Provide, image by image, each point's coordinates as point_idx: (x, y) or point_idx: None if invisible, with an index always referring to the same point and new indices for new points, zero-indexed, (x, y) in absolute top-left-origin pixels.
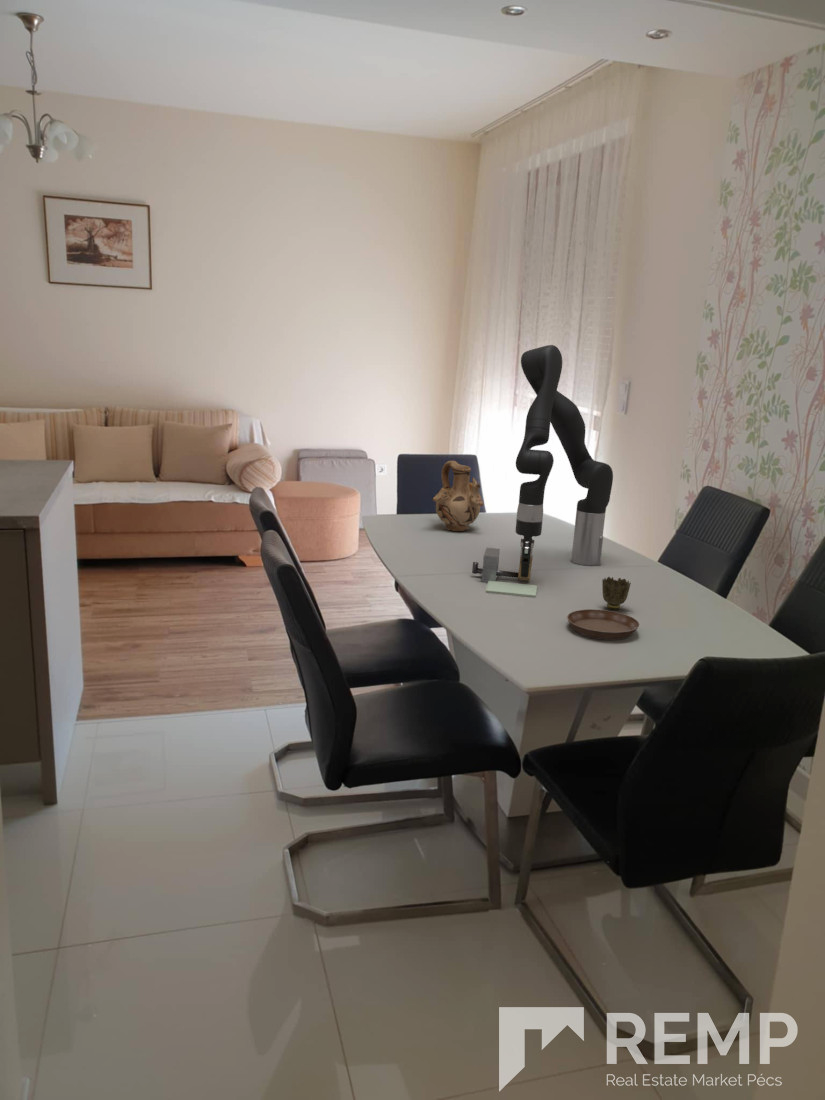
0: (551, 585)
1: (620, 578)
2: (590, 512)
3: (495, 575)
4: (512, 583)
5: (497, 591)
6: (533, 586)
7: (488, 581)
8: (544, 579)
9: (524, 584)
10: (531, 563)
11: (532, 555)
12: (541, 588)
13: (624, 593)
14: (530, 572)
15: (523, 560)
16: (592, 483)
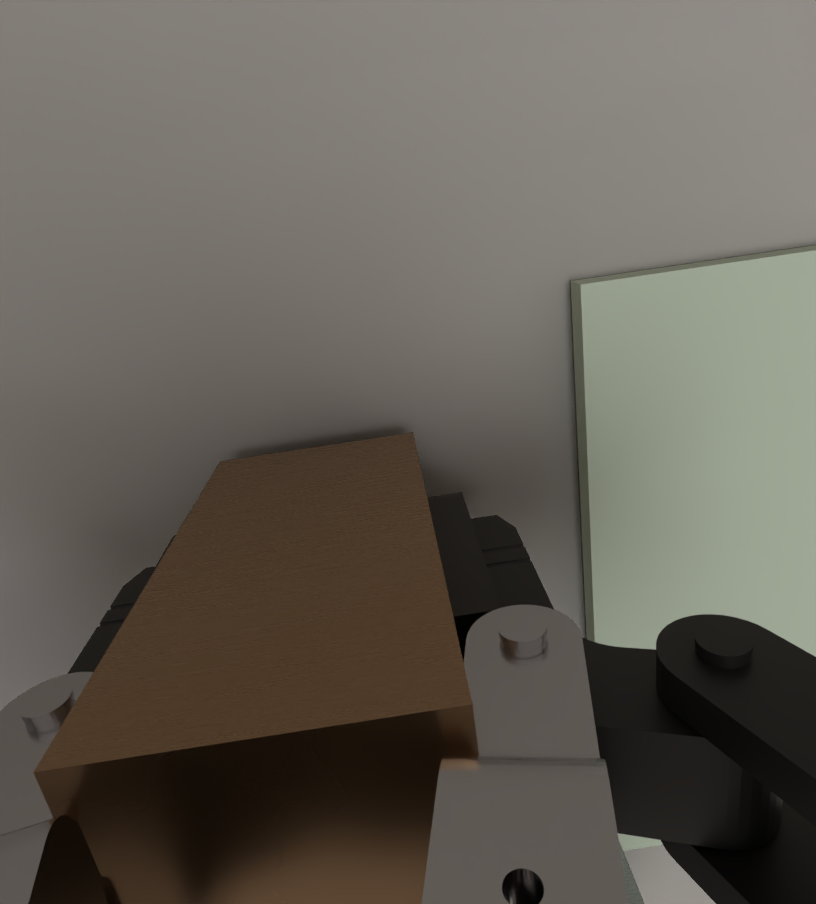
0: (320, 43)
1: None
2: None
3: (629, 870)
4: (612, 618)
5: None
6: (656, 326)
7: (637, 848)
8: (9, 234)
9: (597, 470)
10: (445, 594)
11: (125, 761)
12: (585, 195)
13: None
14: (423, 491)
15: (774, 834)
16: None
